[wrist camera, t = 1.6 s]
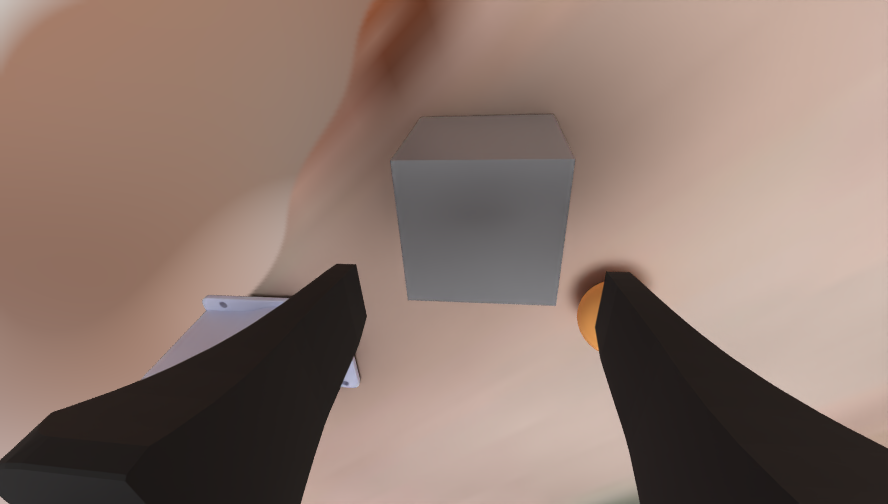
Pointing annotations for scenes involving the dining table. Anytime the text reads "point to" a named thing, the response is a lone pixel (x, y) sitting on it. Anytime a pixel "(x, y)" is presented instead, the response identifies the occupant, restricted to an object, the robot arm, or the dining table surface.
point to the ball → (589, 314)
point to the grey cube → (483, 208)
